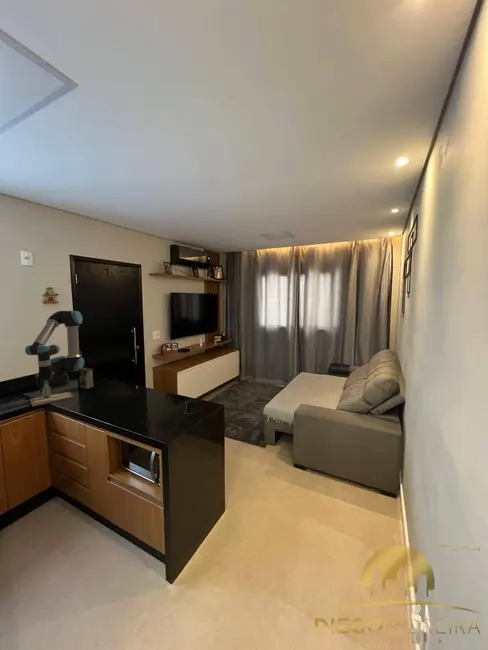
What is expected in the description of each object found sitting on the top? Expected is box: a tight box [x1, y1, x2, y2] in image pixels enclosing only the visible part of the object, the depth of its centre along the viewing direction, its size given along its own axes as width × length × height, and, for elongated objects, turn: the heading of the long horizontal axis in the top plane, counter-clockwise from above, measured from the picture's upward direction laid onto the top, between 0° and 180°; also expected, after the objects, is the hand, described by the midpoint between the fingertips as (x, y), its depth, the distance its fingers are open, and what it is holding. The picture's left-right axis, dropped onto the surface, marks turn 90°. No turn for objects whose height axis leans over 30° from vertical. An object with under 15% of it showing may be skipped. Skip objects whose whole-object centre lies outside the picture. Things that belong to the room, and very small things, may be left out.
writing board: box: [29, 391, 75, 408], centre depth 218 cm, size 16×26×1 cm, turn 132°
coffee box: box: [78, 367, 94, 390], centre depth 245 cm, size 9×6×16 cm
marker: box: [43, 379, 50, 398], centre depth 218 cm, size 4×4×13 cm
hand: (46, 395), depth 218 cm, fingers closed on marker, 3 cm apart
